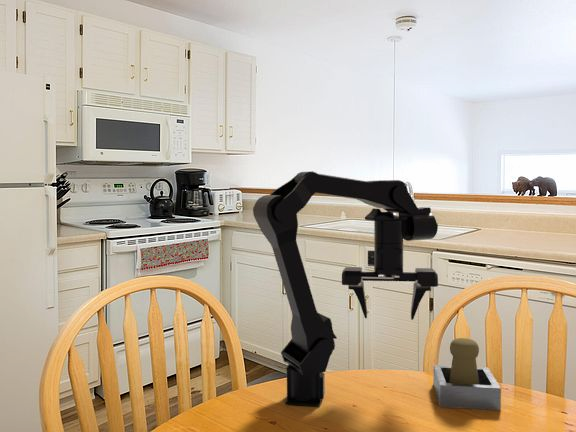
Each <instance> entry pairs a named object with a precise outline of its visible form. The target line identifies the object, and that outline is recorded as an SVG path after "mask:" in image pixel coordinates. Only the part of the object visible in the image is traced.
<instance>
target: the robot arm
mask: <svg viewBox="0 0 576 432" xmlns="http://www.w3.org/2000/svg"><path fill="white" fill-rule="evenodd" d="M315 194H316V195H322V196H324V195H325V196H329V197H330V196H331V197H338V198H344V199H350V200H351V199H352V200H357V201H360V202H362V203H364V204H366V205H368V206H372V207H374V208H372V209H371V211H370V212H369V213H367V214H366V215H365V217H364V220H366V221H369V222H370V221H372V222H373V225H374V231H373V232H374V237H373V238H374V239H373V240H374V241H373V242H374V245H373V246H374V249H373V250H367V267H374V268H373V269H374V271H363V268H362V267H360V266H359V267H357V266H354V267H352V266H349V267H348V266H346V267H344V268H343V270H342V272H341V285H342V286H348V290H352V291H353V292H354V294H355V296H356V298H357V300H358V302H359V305H360V308H361V310H362V313H363V316H364V319H368V308H367V302H366V301H367V300H366V292H365V284H364V282H366V281H367V282H410V283H411V282H413V285H412V287H413V288H412V299H411V306H410V320H412V321H413V320H414V318H415V315H416V313H417V311H418V308H419V306H420V303H421V301H422V299H423V297H424V296H425V293H427V292H431V291H432V287H433V288H434V287H438V286H439V276H438V275H439V274H438V273H437V272H436V270H435V269H434V268H433V267H431V268H430V267H429V268H428V267H427V268H426V267H425V268H423V267H416V268H415V270H414V272H411V271H404V241H406V242H410V241H413V242H414V241H423V240H424V241H425V240H432V239H434V237H436V235H437V233H438V229H439V225H438V222H437V219H436V218H435V216H434V214H432V213H431V212H432V209H431V207H427V206H421V207H418V206H417V204H416V203H415V201H414V200H413V197H411V195H410V193H409V190H408V187H407V185H406V182H404V181H402V180H399V179H393V180H392V179H391V180H389V179H388V180H387V179H385V180H360V179H355V178H349V177H342V176H336V175H335V176H334V175H329V174H321V173H317V172H316V171H300V172H298V173H297V174H296V175H294V176H293V177H292V178H291V179H290V180H288V181H287V182H285V183H284V184H283V185H280V186H279V187H278V188H276V189H275V190H274V191H272V192H271V193H270V194H266V195H263V196H261V197H259V198H258V199H257V200H256V201H255V203H254V206H253V208H252V212H253V214H252V215H253V218H254V219H255V221H256V223H257V226H258V227H259V230H260V231H261V233H262V235H263V236H264V237H265V238H266V239H267V242H268V243H269V244H270V246H271V249H272V251H273V255H274V259H275V261H276V265H277V269H278V271H279V274H280V279H281V282H282V285H283V288H284V291H285V295H286V298H287V301H288V304H289V308H290V312H291V314H292V315H291V322H290V331H291V334H290V335H291V339H290V340H289V341H288V343H287V344H286V345H285V347H284V348H283V349H282V351H281V352H280V355H281V357H282V360H283V362H284V363H287V367H286V398H285V400H284V404H285V405H293V406H294V405H295V406H309V407H311V406H313V407H320V406H321V403H322V400H323V399H324V398H325V392H326V391H325V390H326V389H325V388H326V387H325V381H326V380H325V377H326V375H325V372H326V371H327V367H328V365H329V361H330V358H331V356H332V354H333V351H334V350H335V348H336V343H335V339H338V338H337V335H336V334H335V333H334V330H333V322H332V320H331V318H330V317H329V316H326V315H323V314H321V313H319V312H318V310H317V307H316V305H315V301H314V297H313V294H312V291H311V286H310V284H309V279H308V277H307V274H306V270H305V267H304V266H305V265H304V263H303V259H302V256H301V253H300V249H299V245H298V243H297V235H298V227H299V221H298V213H299V212H301V210H303V209H304V208H305V207H306V206H307V204H308V203H309V202H310V200H311V199H312V197H313V195H315ZM381 209H382V210H385V211H381ZM397 214H398V215H397Z"/></svg>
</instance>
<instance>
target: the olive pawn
mask: <svg viewBox="0 0 576 432" xmlns="http://www.w3.org/2000/svg"><path fill="white" fill-rule="evenodd" d="M449 352H450V354H451V355H452V359H451V365H450V366H451V373H450V380H449V383H454V384H475V385H479V380H478V372H477V367H478V365H477V358H478V356H479V353H480V347H479V344H478V343H477V341H475V340H473V339H470V338H467V337H458V338H454V339H452V340H451V342H450V345H449Z"/></svg>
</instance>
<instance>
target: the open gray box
mask: <svg viewBox="0 0 576 432" xmlns="http://www.w3.org/2000/svg"><path fill="white" fill-rule="evenodd" d="M451 366H452V365H439V364H436V365H435V364H433V388H434V391H435V394H436V397H437V398H436V399H437V402H438V403H439V407H440V408H452V409H453V408H454V409H455V408H456V409H469V410H470V409H472V410H473V409H474V410H489V411H501V406H502V405H501V404H502V388H501V386H500V385H499V383H498V381H497V379H496V378H495V377H494V375H493V373H492V372H491V370H490V368H489V367H483V366H477V372H478V380H479V385H475V384H454V383H449V380H450V373H451Z"/></svg>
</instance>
